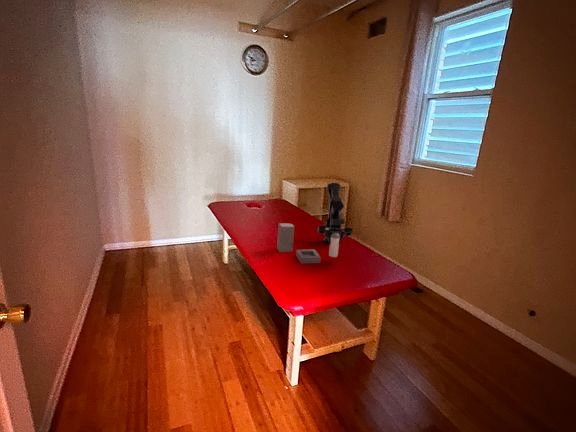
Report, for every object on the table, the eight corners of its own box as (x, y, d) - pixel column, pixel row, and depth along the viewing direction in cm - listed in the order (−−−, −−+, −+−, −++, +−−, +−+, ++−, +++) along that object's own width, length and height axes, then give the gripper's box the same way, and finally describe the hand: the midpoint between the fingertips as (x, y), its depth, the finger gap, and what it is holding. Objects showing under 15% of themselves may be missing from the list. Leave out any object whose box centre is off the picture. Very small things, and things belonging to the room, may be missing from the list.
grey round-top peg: (327, 253, 178) (330, 231, 174) (335, 253, 179) (338, 231, 175) (330, 257, 173) (333, 234, 169) (338, 256, 175) (341, 234, 171)
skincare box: (279, 252, 183) (280, 227, 179) (276, 247, 190) (277, 222, 185) (293, 251, 186) (295, 226, 181) (290, 247, 192) (291, 222, 188)
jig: (296, 255, 182) (296, 249, 181) (314, 254, 184) (314, 249, 183) (300, 263, 171) (301, 258, 170) (320, 262, 174) (320, 257, 173)
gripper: (320, 211, 173) (318, 237, 166) (354, 213, 172) (354, 240, 165) (318, 220, 183) (317, 245, 176) (350, 222, 182) (350, 247, 175)
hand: (334, 244), depth 173 cm, fingers closed on grey round-top peg, 5 cm apart
